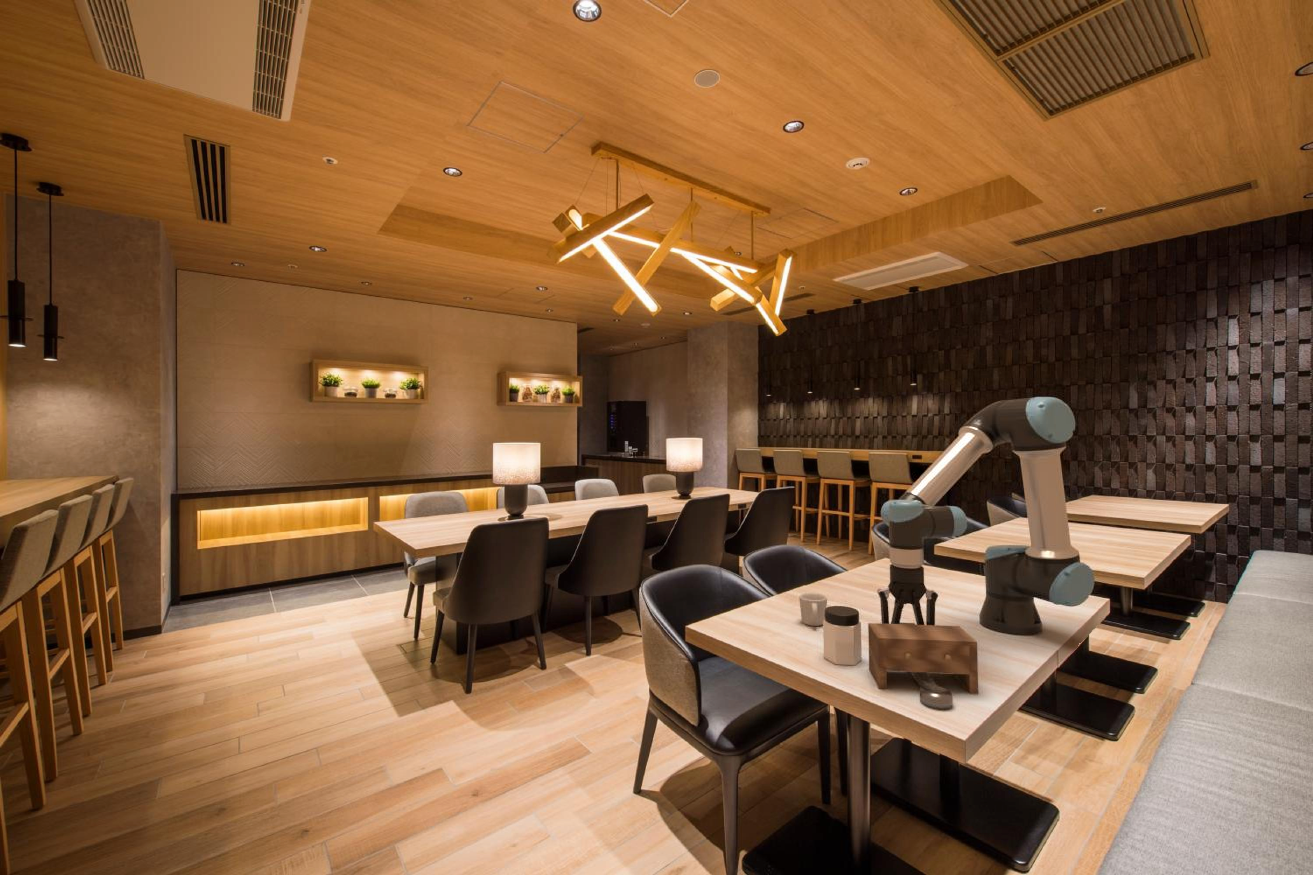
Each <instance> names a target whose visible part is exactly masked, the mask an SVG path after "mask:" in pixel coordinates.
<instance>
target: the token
mask: <svg viewBox="0 0 1313 875" xmlns="http://www.w3.org/2000/svg"><path fill="white" fill-rule="evenodd" d="M953 698H954V697H953V693H952V691H950V690H948V689H947V688H944V687H941V686H938V685H937V686H923V687H919V702H920V704H921V705H922V706H924V707H926V708H928V709H932V710H936V711H949V710H952V709H953V707H954V706H953V705H954V704H953V703H954V702H953Z"/></svg>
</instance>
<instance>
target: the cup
mask: <svg viewBox="0 0 1313 875" xmlns="http://www.w3.org/2000/svg"><path fill="white" fill-rule="evenodd" d="M798 598H799V608H800V616H801V620H802V622H803V624H805V625H807V626H812V627H818V626H819V627H820V626H823V620H825V616H824V613H825V609H826V608H827V604H828V597H827V596H826V595H824V594H822V593H821V594H820V593H816V592H806V593H801V594H799V597H798Z"/></svg>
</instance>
